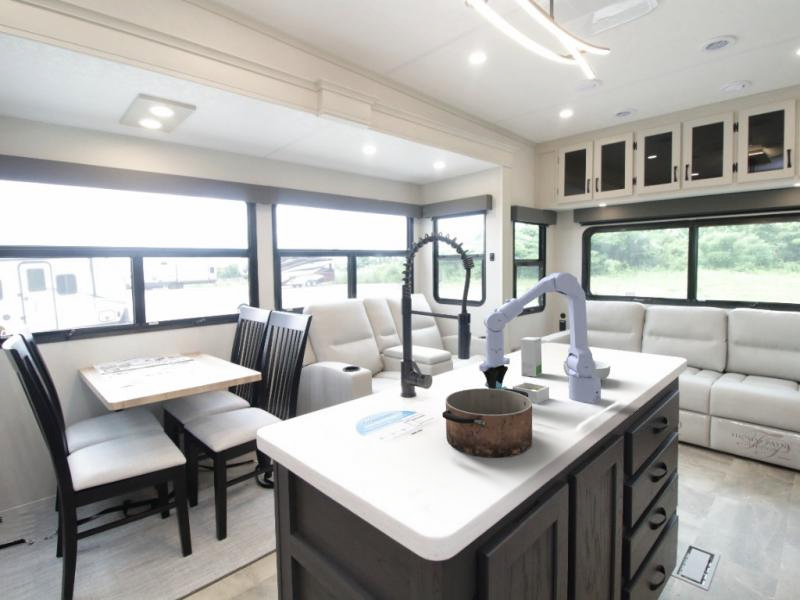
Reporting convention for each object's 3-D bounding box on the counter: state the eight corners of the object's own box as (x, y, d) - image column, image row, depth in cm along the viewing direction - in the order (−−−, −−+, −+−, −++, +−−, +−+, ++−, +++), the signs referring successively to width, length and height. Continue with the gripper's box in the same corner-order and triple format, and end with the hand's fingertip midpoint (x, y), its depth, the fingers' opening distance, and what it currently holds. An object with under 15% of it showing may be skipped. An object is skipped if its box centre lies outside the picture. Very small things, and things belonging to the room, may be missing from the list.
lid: (527, 405, 134) (529, 399, 133) (512, 411, 129) (515, 405, 128) (494, 382, 143) (497, 376, 142) (479, 387, 138) (481, 381, 137)
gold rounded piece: (543, 398, 139) (542, 389, 139) (538, 400, 137) (538, 391, 137) (534, 396, 142) (534, 387, 141) (530, 398, 140) (530, 389, 139)
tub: (549, 399, 139) (549, 386, 139) (536, 405, 134) (536, 391, 133) (525, 394, 146) (525, 381, 145) (512, 399, 140) (512, 386, 140)
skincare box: (535, 377, 168) (535, 340, 167) (520, 375, 172) (519, 338, 171) (542, 373, 175) (542, 337, 174) (527, 371, 179) (526, 336, 178)
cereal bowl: (618, 386, 153) (618, 367, 152) (573, 387, 153) (573, 369, 153) (597, 375, 170) (597, 358, 169) (557, 376, 170) (557, 359, 170)
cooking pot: (487, 415, 128) (487, 381, 127) (555, 435, 111) (555, 396, 110) (418, 444, 108) (417, 404, 107) (489, 474, 91) (488, 427, 90)
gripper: (497, 344, 145) (497, 381, 146) (471, 350, 135) (472, 390, 136) (514, 346, 140) (515, 385, 141) (489, 353, 130) (489, 395, 131)
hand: (495, 388), depth 138 cm, fingers closed on lid, 3 cm apart
